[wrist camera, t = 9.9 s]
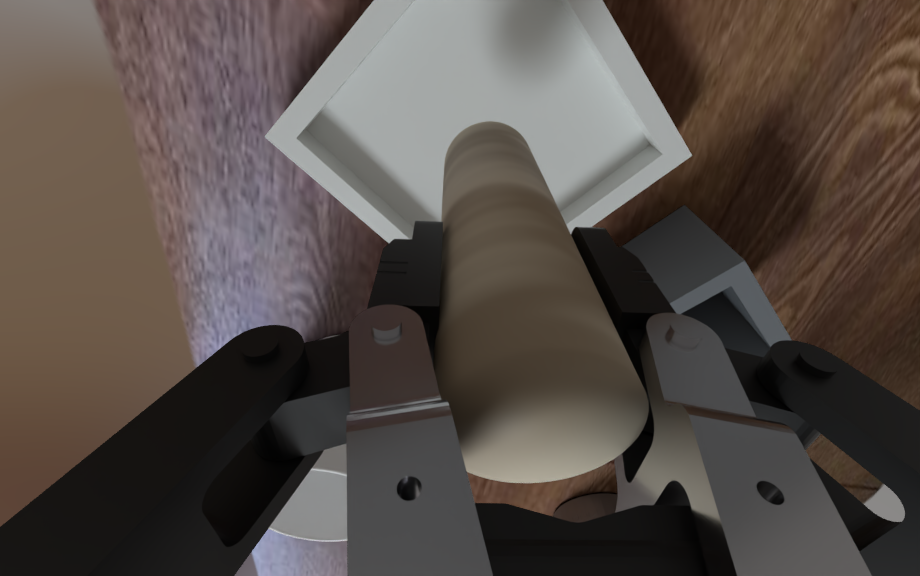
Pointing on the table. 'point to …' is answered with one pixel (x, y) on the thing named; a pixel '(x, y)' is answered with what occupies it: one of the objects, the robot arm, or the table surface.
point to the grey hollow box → (708, 282)
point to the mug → (318, 501)
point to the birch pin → (524, 324)
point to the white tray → (479, 107)
